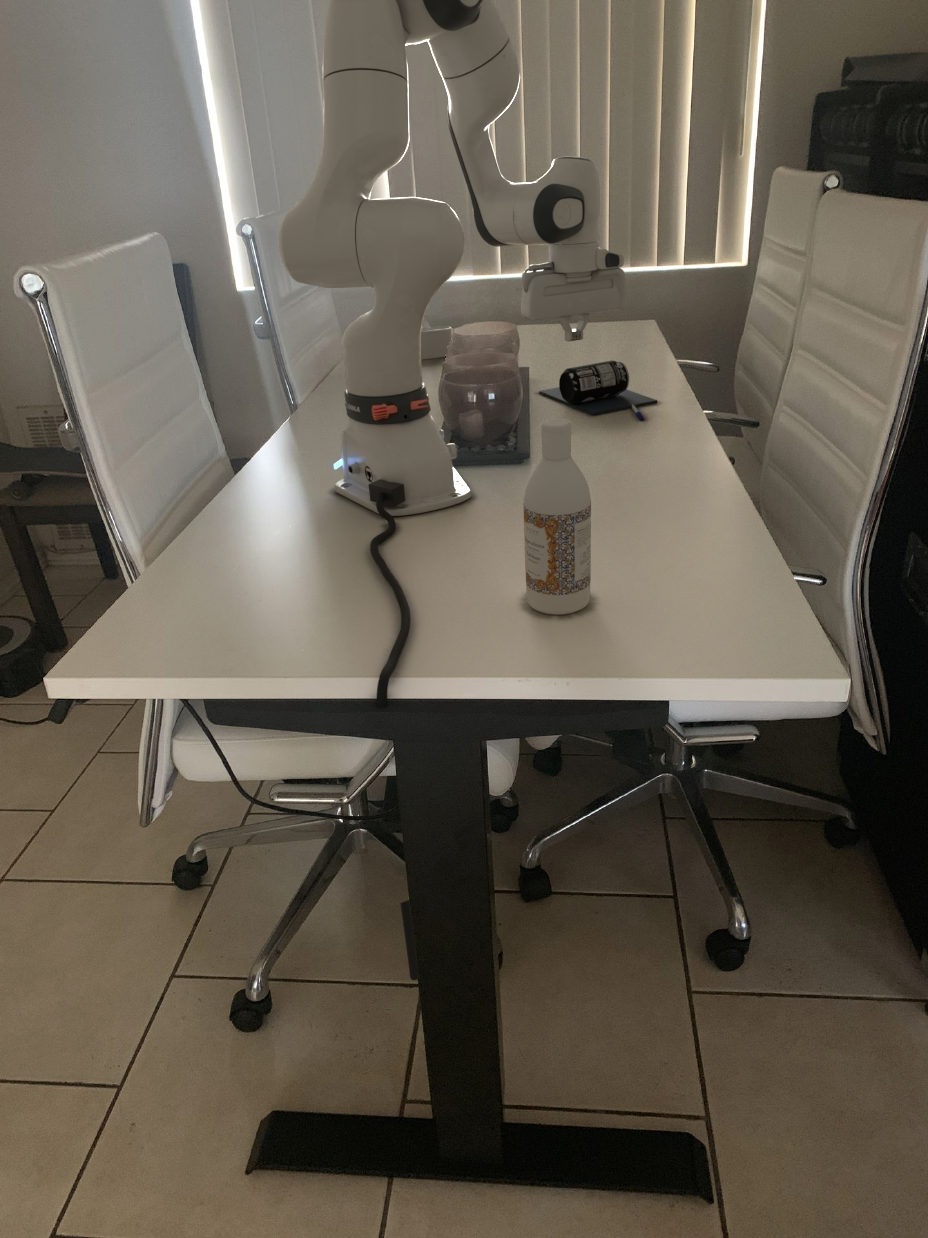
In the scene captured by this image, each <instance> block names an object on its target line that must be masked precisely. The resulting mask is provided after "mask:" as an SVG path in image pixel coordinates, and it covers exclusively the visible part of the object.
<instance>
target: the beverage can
mask: <svg viewBox="0 0 928 1238" xmlns="http://www.w3.org/2000/svg"><path fill="white" fill-rule="evenodd" d="M558 381H559V382H558V386H559V388H560V393H561V395H562V397H563V399H564V400H565V401H566V402H568V403H569V404H577V403H582V402H587V401H592V400H597V399H602V398H608V397H613V396H617V395H619V394H620V393H621V392H624V391H625V390H628V387H629V384H630V373H629V370H628V367H627V366H626V364H625V363H624V362H622V361H616V360H613V359H612V360H607V361H606V360H605V361H601V362H595V363H589V364H584V365H578V366H573V367H568V368H566V369H564V370H563V372H562V373H561V374H560V376H559V380H558Z"/></svg>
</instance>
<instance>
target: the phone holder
mask: <svg viewBox="0 0 928 1238" xmlns="http://www.w3.org/2000/svg"><path fill="white" fill-rule="evenodd" d="M452 329H453V328H452V327H451V326H449V325H439V326H431V325H430V322H429V321H428V319H427V315H426V314H425V315H424V319H423V323H422V328H421V361H422V360H430V359H437V358H445V355H446V354H447V346H448V345H449V342H450V341H451V338H452V339H453V330H452Z"/></svg>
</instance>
